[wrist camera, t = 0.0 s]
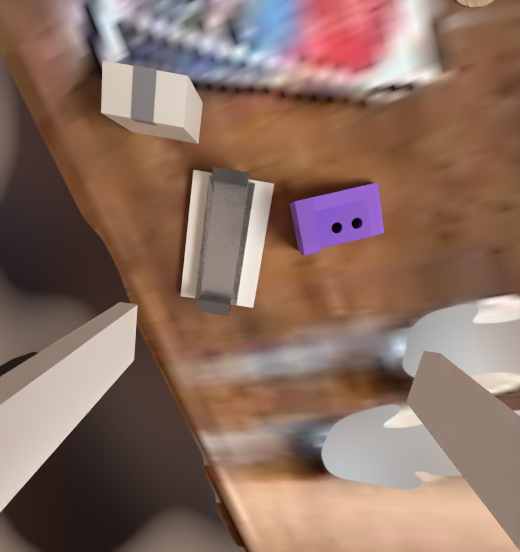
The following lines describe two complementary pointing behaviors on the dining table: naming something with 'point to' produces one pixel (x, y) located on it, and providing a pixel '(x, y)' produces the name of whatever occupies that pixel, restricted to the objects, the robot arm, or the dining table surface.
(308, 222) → the bracket
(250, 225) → the mount plate
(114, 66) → the block
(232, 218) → the rail
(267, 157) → the dining table surface
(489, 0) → the figurine
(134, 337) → the robot arm
